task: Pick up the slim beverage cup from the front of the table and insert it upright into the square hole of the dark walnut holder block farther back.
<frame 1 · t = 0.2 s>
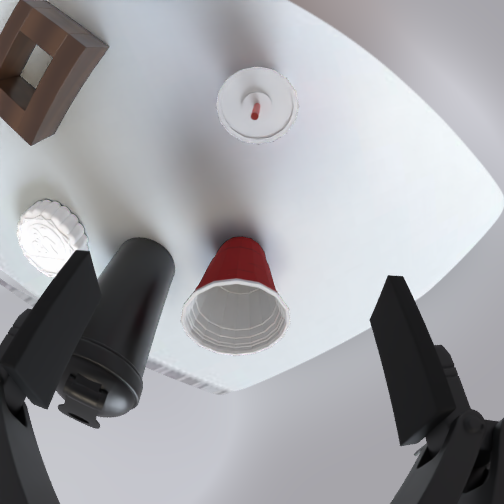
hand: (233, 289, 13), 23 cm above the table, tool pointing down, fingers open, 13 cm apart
water bottle: (146, 263, 42), on the table
holder: (46, 65, 26), on the table
plastic cup: (243, 254, 40), on the table
beverage cup: (260, 94, 29), on the table
mooncake: (57, 234, 40), on the table
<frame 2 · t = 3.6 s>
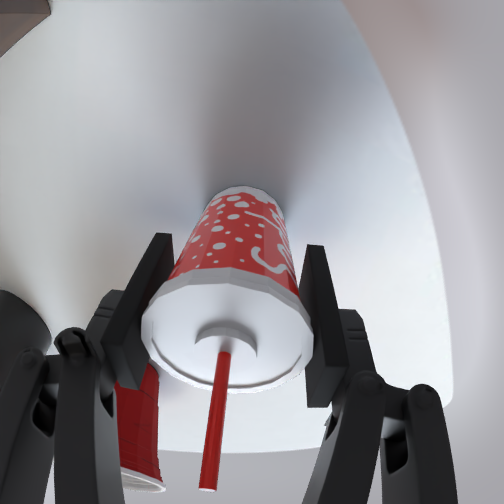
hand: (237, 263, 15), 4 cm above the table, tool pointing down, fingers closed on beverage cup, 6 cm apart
water bottle: (20, 320, 25), on the table
plastic cup: (134, 369, 28), on the table
beverage cup: (243, 221, 18), on the table, touching gripper
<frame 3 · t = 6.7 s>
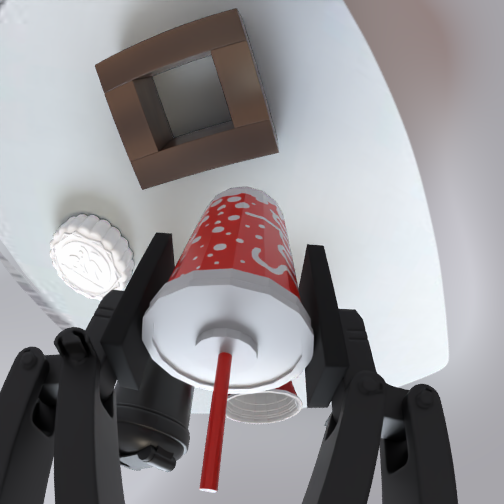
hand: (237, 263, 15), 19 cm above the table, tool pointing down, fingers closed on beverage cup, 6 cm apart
water bottle: (177, 315, 44), on the table
holder: (195, 95, 27), on the table
plastic cup: (263, 342, 47), on the table
beverage cup: (243, 222, 18), point 15 cm above the table, touching gripper
mooncake: (95, 251, 39), on the table
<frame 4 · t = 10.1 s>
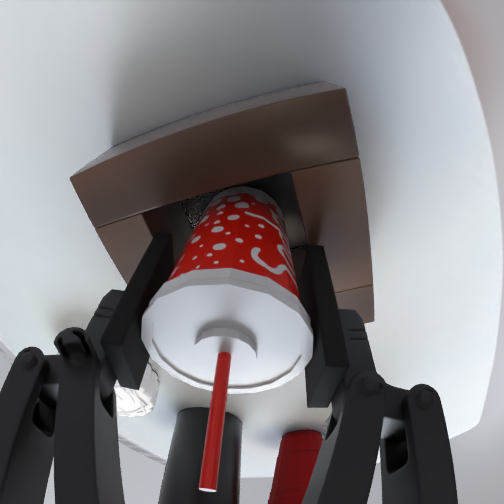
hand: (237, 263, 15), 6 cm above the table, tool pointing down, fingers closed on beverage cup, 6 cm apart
water bottle: (209, 420, 36), on the table
holder: (242, 210, 19), on the table
plastic cup: (302, 436, 39), on the table
beverage cup: (243, 221, 18), point 1 cm above the table, touching gripper
mooncake: (109, 366, 31), on the table
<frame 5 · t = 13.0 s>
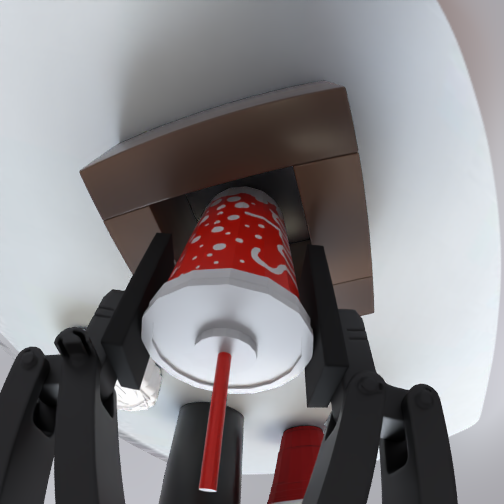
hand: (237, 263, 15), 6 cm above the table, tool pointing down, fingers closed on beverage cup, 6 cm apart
water bottle: (211, 415, 37), on the table
holder: (246, 205, 20), on the table
plastic cup: (303, 431, 39), on the table
beverage cup: (243, 221, 18), point 2 cm above the table, touching gripper
mooncake: (113, 361, 31), on the table
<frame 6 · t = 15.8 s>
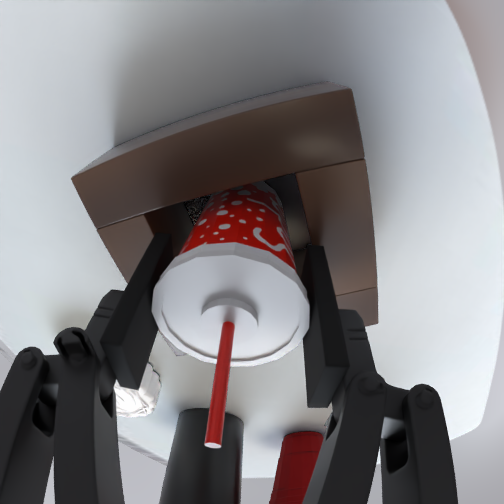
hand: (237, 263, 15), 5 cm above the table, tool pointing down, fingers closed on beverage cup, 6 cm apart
water bottle: (211, 421, 36), on the table
holder: (245, 211, 19), on the table
plastic cup: (304, 437, 38), on the table
beverage cup: (245, 210, 19), resting in holder, touching gripper
mooncake: (111, 367, 31), on the table
when the fingers open (6 cm above the table, at t = 16.2 s): beverage cup stays where it is, resting in holder.
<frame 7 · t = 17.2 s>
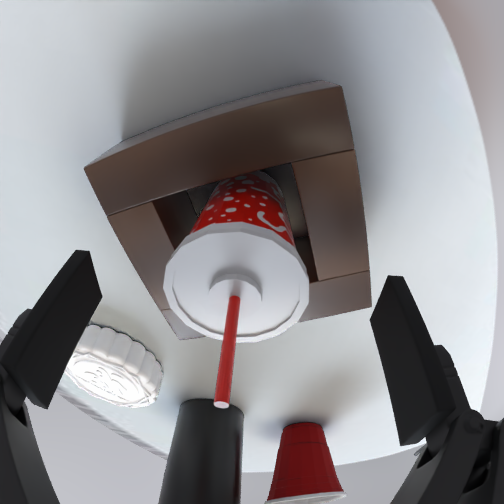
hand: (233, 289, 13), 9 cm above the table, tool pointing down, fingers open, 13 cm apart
water bottle: (211, 412, 37), on the table
holder: (245, 201, 20), on the table
plastic cup: (303, 428, 40), on the table
beverage cup: (248, 200, 20), resting in holder
mooncake: (114, 358, 32), on the table
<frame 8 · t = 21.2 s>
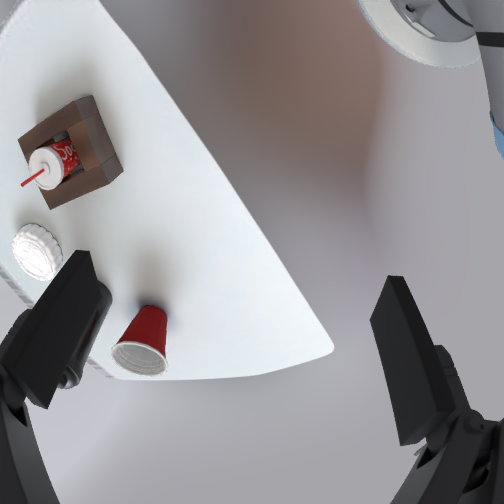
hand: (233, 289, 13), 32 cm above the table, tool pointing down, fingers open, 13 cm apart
water bottle: (94, 292, 58), on the table
holder: (76, 149, 41), on the table
plastic cup: (154, 315, 60), on the table
beverage cup: (77, 148, 41), resting in holder
mooncake: (41, 248, 53), on the table
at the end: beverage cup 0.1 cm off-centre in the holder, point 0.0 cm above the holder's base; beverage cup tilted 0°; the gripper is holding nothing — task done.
